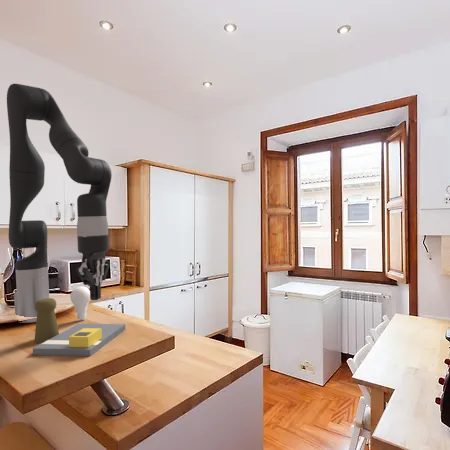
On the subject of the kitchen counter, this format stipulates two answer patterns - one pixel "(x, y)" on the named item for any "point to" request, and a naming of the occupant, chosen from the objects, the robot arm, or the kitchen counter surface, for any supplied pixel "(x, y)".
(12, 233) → the robot arm
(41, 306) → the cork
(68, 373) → the kitchen counter surface
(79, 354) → the board
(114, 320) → the kitchen counter surface
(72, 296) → the lightbulb
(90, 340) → the block
